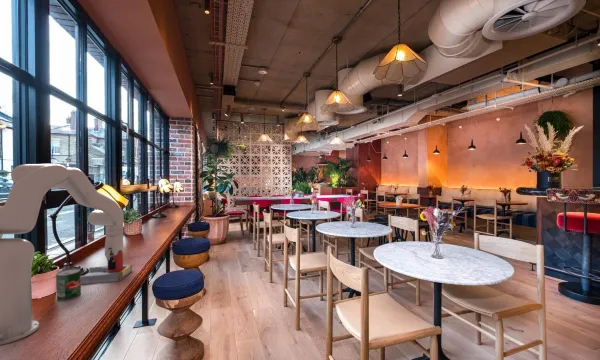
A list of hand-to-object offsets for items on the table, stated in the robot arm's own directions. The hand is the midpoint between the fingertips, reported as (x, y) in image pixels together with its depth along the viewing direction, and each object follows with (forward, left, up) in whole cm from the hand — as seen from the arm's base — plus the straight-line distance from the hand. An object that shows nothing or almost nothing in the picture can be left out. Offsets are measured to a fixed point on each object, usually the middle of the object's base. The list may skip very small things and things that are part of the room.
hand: (115, 266), depth 137 cm
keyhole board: (0, +5, -5) cm, 7 cm away
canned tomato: (-22, +9, -5) cm, 24 cm away
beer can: (0, 0, -4) cm, 4 cm away
